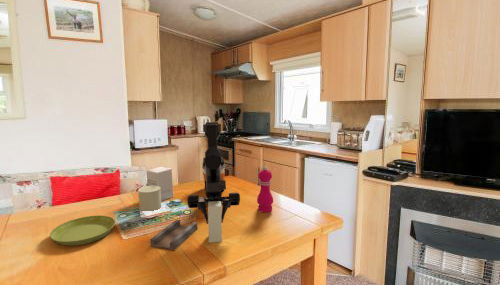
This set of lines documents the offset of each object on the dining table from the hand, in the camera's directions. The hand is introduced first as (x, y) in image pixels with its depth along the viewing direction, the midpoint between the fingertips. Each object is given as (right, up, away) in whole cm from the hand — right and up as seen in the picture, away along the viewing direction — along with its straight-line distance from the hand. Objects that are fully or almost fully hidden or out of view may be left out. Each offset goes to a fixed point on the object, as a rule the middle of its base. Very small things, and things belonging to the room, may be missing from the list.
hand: (214, 222), depth 95 cm
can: (-31, -3, +24) cm, 39 cm away
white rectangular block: (0, -6, +2) cm, 7 cm away
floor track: (-15, -6, +4) cm, 16 cm away
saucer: (-49, -7, +7) cm, 50 cm away
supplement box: (-33, 0, +44) cm, 55 cm away
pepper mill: (+19, -2, +28) cm, 34 cm away
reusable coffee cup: (-8, +2, +58) cm, 58 cm away
